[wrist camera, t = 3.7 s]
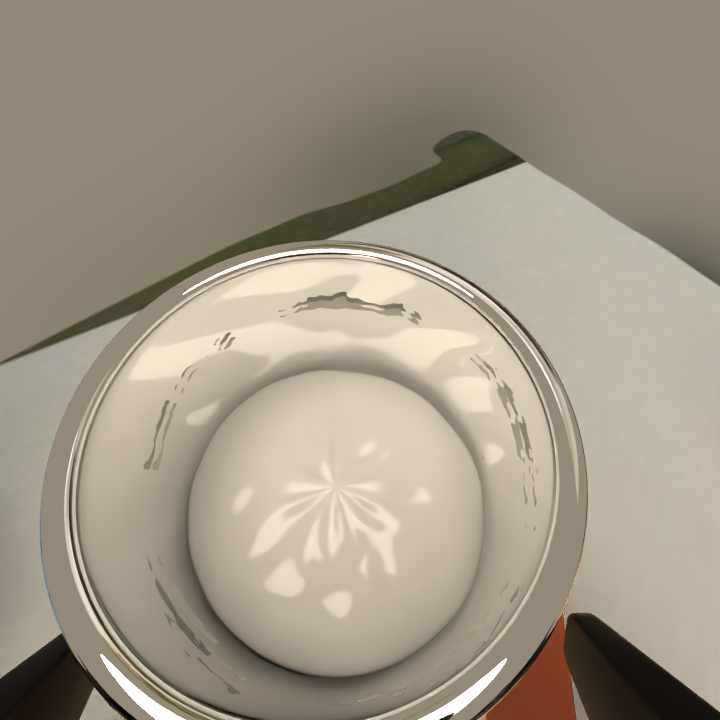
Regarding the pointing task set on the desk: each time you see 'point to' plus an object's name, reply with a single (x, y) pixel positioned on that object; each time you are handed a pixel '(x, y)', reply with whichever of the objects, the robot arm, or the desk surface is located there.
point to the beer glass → (314, 495)
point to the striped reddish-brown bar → (541, 687)
